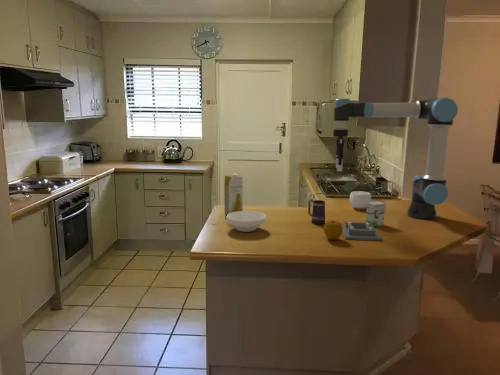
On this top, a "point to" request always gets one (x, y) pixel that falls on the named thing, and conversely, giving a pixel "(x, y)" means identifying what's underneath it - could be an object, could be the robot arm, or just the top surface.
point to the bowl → (246, 220)
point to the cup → (360, 199)
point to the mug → (317, 211)
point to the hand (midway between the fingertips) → (338, 169)
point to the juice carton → (233, 193)
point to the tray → (360, 231)
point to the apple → (333, 230)
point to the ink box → (375, 213)
